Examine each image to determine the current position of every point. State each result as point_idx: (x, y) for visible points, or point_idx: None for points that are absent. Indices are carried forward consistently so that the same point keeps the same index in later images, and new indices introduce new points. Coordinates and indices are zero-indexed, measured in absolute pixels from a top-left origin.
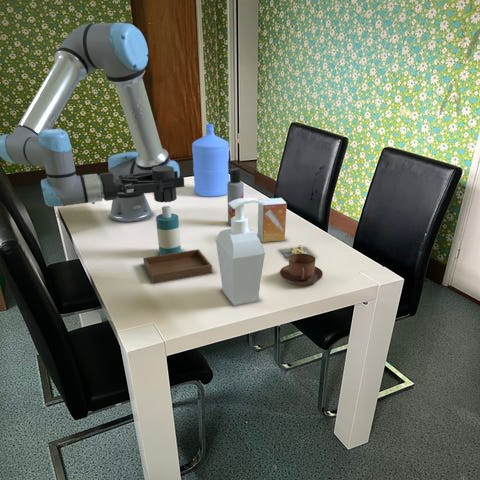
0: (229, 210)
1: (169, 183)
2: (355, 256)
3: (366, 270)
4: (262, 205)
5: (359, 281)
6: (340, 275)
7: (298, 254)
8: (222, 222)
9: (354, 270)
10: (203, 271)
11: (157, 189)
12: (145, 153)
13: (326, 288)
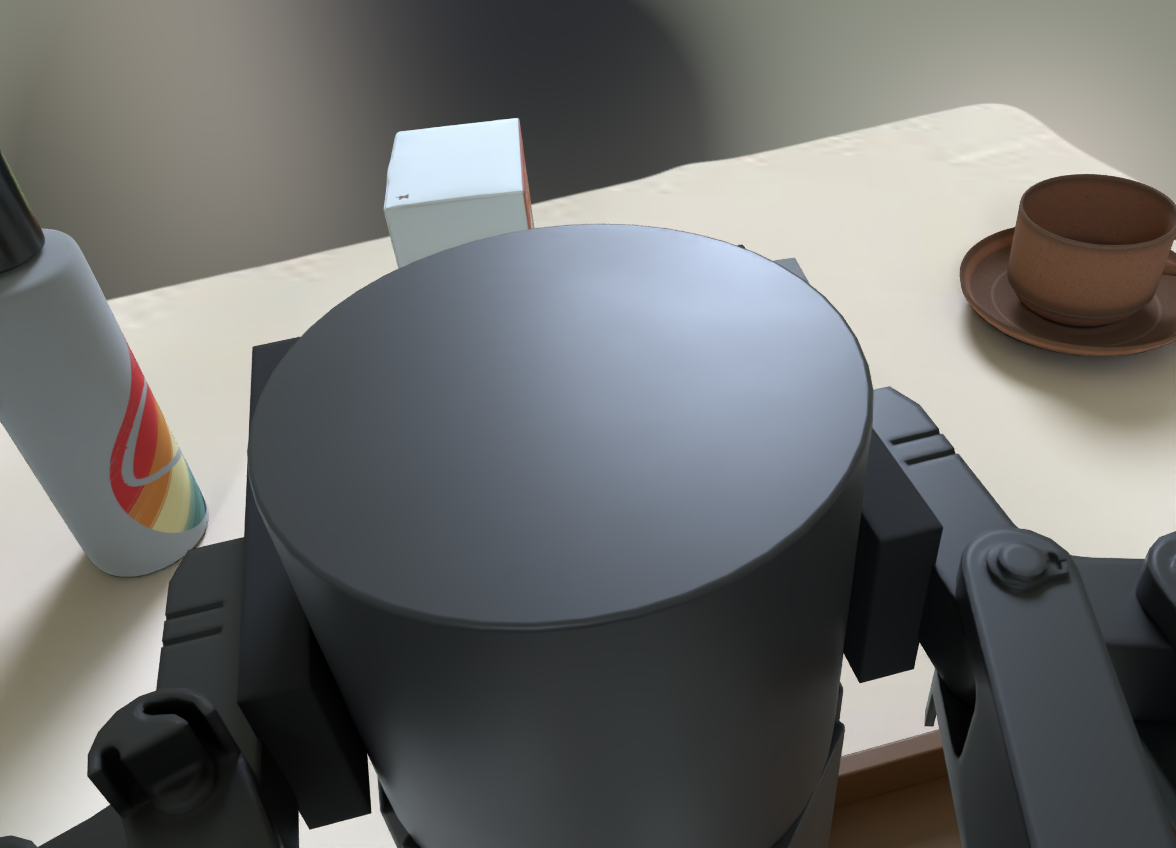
0: (113, 482)
1: (940, 457)
2: (782, 159)
3: (929, 148)
4: (500, 204)
5: (1047, 169)
6: (997, 205)
7: (1026, 220)
8: (61, 616)
9: (934, 171)
10: None
11: (1145, 728)
12: None
13: None
